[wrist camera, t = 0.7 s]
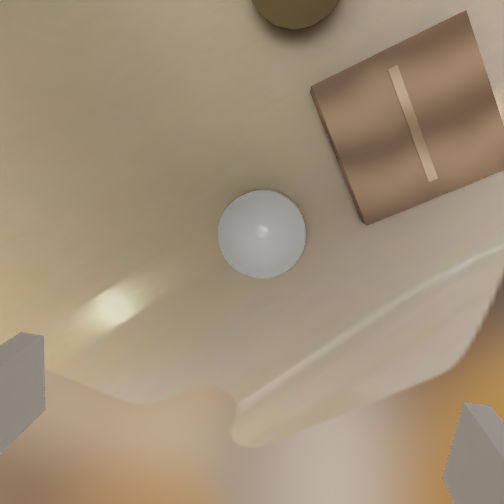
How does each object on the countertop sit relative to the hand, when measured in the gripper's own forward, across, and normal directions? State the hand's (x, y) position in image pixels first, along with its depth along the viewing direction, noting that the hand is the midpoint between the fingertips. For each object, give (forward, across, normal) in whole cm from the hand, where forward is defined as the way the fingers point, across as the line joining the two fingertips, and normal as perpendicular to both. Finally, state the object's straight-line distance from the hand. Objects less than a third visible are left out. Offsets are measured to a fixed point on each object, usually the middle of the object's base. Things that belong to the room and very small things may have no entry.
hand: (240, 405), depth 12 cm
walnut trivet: (+27, +10, +12) cm, 31 cm away
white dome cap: (+27, -1, +1) cm, 27 cm away
